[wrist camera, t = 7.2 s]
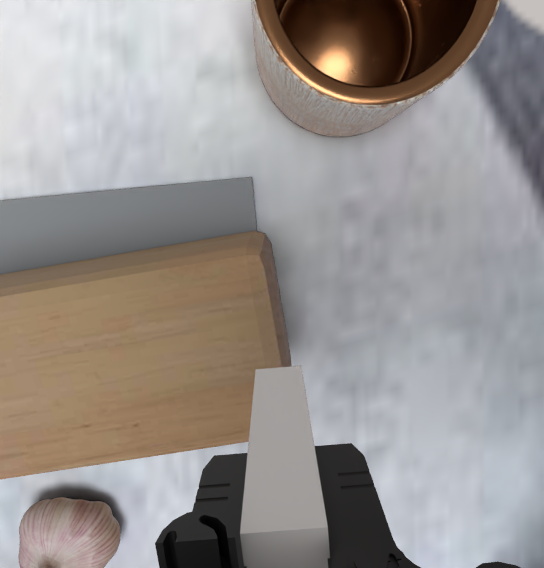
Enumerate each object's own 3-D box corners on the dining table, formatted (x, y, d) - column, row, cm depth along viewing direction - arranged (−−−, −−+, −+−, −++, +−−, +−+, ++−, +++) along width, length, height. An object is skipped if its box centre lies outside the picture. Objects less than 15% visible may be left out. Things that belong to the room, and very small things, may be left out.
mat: (251, 177, 28) (251, 177, 27) (272, 391, 31) (272, 395, 31) (-36, 204, 28) (-42, 204, 28) (17, 412, 32) (12, 416, 31)
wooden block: (291, 361, 30) (31, 402, 31) (268, 227, 28) (-11, 275, 29) (301, 442, 20) (-81, 499, 21) (266, 245, 18) (-158, 318, 19)
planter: (356, -92, 24) (409, -269, 15) (458, 61, 26) (562, -12, 17) (220, 37, 26) (191, -50, 17) (326, 173, 28) (353, 163, 18)
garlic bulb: (17, 510, 34) (-60, 605, 26) (80, 461, 33) (19, 545, 25) (81, 568, 35) (27, 675, 27) (144, 523, 34) (105, 621, 26)
